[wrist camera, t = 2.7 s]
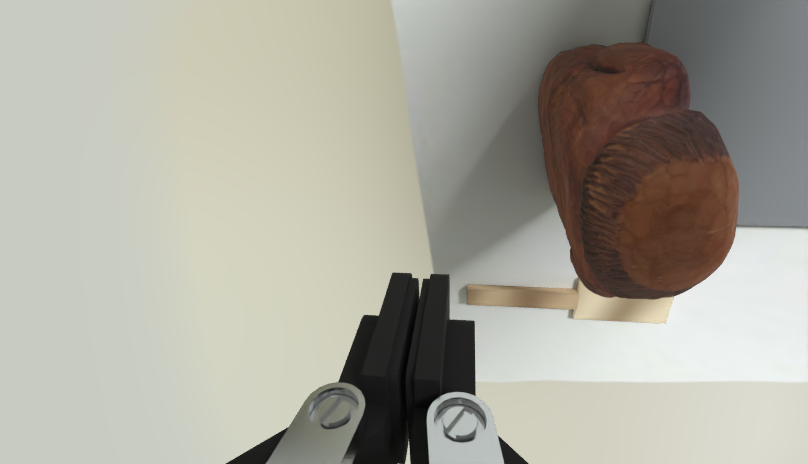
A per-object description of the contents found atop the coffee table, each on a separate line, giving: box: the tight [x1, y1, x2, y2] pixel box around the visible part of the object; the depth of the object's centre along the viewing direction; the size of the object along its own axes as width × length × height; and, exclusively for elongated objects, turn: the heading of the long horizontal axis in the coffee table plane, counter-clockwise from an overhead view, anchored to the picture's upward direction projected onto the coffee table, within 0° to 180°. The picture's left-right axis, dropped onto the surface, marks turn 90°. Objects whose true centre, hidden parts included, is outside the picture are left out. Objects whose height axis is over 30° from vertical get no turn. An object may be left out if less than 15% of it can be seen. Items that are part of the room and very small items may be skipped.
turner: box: [467, 279, 674, 323], centre depth 38 cm, size 18×4×1 cm, turn 93°
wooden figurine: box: [538, 43, 739, 300], centre depth 23 cm, size 12×6×18 cm, turn 14°
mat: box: [644, 0, 808, 227], centre depth 28 cm, size 16×19×1 cm
